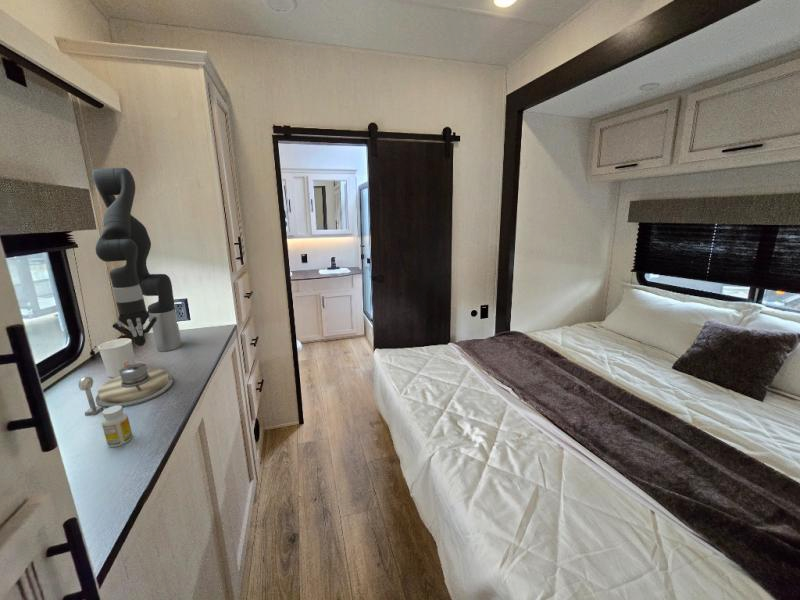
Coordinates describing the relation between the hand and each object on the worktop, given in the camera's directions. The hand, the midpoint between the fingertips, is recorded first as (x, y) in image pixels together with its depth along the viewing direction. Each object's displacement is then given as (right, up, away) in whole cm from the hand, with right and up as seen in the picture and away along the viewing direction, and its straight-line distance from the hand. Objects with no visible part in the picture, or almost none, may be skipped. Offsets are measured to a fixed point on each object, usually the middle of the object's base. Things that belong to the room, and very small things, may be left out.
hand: (141, 345), depth 121 cm
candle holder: (-14, -12, +9) cm, 20 cm away
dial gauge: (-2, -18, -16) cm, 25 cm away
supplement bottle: (+17, -22, -29) cm, 40 cm away
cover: (+2, -12, -5) cm, 13 cm away
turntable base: (+2, -15, -4) cm, 16 cm away
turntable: (+2, -14, -5) cm, 15 cm away
